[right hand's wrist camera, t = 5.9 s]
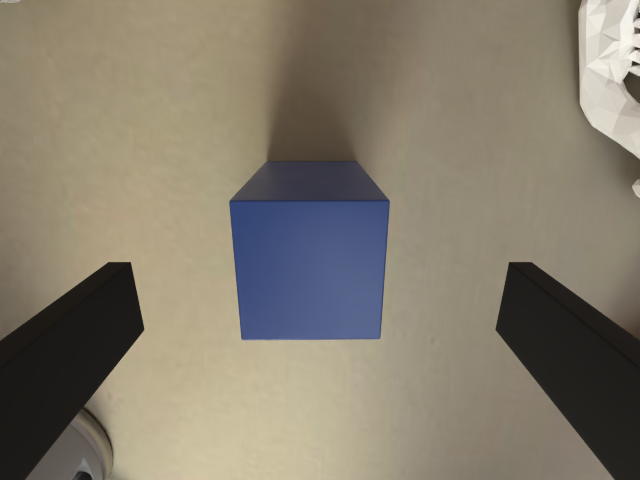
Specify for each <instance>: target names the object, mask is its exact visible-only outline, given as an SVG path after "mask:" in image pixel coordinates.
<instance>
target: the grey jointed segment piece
mask: <svg viewBox="0 0 640 480" xmlns="http://www.w3.org/2000/svg"><path fill="white" fill-rule="evenodd" d="M19 1H20V0H0V2H3V3H17V2H19Z"/></svg>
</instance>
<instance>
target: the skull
mask: <svg viewBox="0 0 640 480" xmlns="http://www.w3.org/2000/svg"><path fill="white" fill-rule="evenodd" d="M639 10H640V0H582V1H581V5H580V9H579V12H578V18H579V82H580V106H581V108H582V110H583V112H584V114H585V116H586V118H587V119H588V121H589V122H590V124H591V125H592V126H593V127H594V128H596V129H597V130H599V131H601V132H602V133H604V134H605V135H607V136H608V137H610V138H611V139H613V140H614V141H616V142H617V143H619V144H620V145H622V146H623V147H624V148H625V149H627V150H628V151H630V152H631V153H633V154H634V155H635V156H636V157H638V158H639V159H640V103H638V102H637V101H636V100H635V99H634V98H633V97H632V96H631V95H630V94H629V93H628V92H627V89H626V87H625V84H624V82H623V80H624V78H625V76H626V75H627V73H628V72H629V71H630V72H631V73H633V74H635V75H638V76H640V65H632V61H635V62H637V63H639V64H640V50H636V51H635V47H638V48H640V34H639V29H640V18H639V19H637V18H638V12H639V13H640V11H639ZM632 187H633V190H634V192H635V194H636V195H637V196H638V197H639V198H640V179H637V180H636V182H635V183H634V184H633V185H632Z"/></svg>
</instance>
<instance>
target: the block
mask: <svg viewBox="0 0 640 480" xmlns="http://www.w3.org/2000/svg"><path fill="white" fill-rule="evenodd" d="M229 204H230V215H231V226H232V238H233V249H234V260H235V271H236V282H237V293H238V304H239V315H240V327H241V338H242V340H330V339H380V335H381V320H382V306H383V291H384V277H385V263H386V248H387V234H388V219H389V205H390V201H389V199H388V198H387V197H386V196H385V195H384V193H383V192H382V191H381V190H380V189H379V187H378V186H377V185H376V184H375V183H374V181H373V180H372V179H371V178H370V177H369V175H368V174H367V173H366V172H365V171H364V169H363V168H362V167H361V166H360V165H359V164H358V162H357V161H267V162H266V163H265V164H264V165H263V166H262V167H261V168H260V169H259V170H258V171H257V172H256V173H255V174H254V176H253V177H252V178H251V179H250V180H249V181H248V182H247V183H246V184H245V185H244V186H243V187H242V188H241V189H240V190H239V191H238V192H237V194H236V195H235V196H234V197H233V198H232V199H231V200H230V202H229Z"/></svg>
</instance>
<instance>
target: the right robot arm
mask: <svg viewBox="0 0 640 480" xmlns="http://www.w3.org/2000/svg"><path fill="white" fill-rule="evenodd" d="M143 331H144V325H143V320H142V315H141V310H140V305H139V300H138V296H137V291H136V286H135V281H134V276H133V271H132V266H131V262H108V263H107V264H106V265H104V266H103V267H101V268H100V269H99V270H97V271H96V272H94V273H93V274H92V275H90V276H89V277H88V278H86V279H85V280H83V281H82V282H81V283H79V284H78V285H77V286H75V287H74V288H72V289H71V290H70V291H68V292H67V293H66V294H64V295H63V296H61V297H60V298H59V299H57V300H56V301H54V302H53V303H52V304H50V305H49V306H48V307H46V308H45V309H43V310H42V311H41V312H39V313H38V314H37V315H35V316H34V317H32V318H31V319H30V320H28V321H27V322H26V323H24V324H23V325H21V326H20V327H19V328H17V329H16V330H14V331H13V332H12V333H10V334H9V335H8V336H6V337H5V338H3V339H2V340H1V341H0V480H107V479H108V477H109V475H110V473H111V469H112V463H113V456H112V450H111V446H110V443H109V441H108V439H107V437H106V435H105V433H104V431H103V430H102V429H101V427H100V426H99V425H98V423H97V422H96V421H95V420H94V419H93V418H92V417H91V416H90V415H89V414H88V413H87V412H86V411H84V410H83V409H82V408H83V406H84V405H85V404H86V403H87V401H88V400H89V399H90V398H91V396H92V395H93V394H94V393H95V391H96V390H97V389H98V388H99V386H100V385H101V384H102V383H103V381H104V380H105V379H106V377H107V376H108V375H109V374H110V372H111V371H112V370H113V369H114V367H115V366H116V365H117V364H118V362H119V361H120V360H121V359H122V357H123V356H124V355H125V354H126V352H127V351H128V350H129V349H130V347H131V346H132V345H133V344H134V342H135V341H136V340H137V339H138V337H139V336H140V335H141V333H142V332H143ZM496 331H497V332H498V333H499V335H500V336H501V337H502V339H503V340H504V341H505V342H506V344H507V345H508V346H509V347H510V349H511V350H512V351H513V352H514V354H515V355H516V356H517V357H518V359H519V360H520V361H521V362H522V364H523V365H524V366H525V367H526V369H527V370H528V371H529V372H530V374H531V375H532V376H533V377H534V379H535V380H536V381H537V383H538V384H539V385H540V386H541V388H542V389H543V390H544V391H545V393H546V394H547V395H548V396H549V398H550V399H551V400H552V401H553V403H554V404H555V405H556V406H557V408H558V409H559V410H560V411H561V413H562V414H563V415H564V416H565V418H566V419H567V420H568V422H569V423H570V424H571V425H572V427H573V428H574V429H575V430H576V432H577V433H578V434H579V435H580V437H581V438H582V439H583V440H584V442H585V443H586V444H587V445H588V447H589V448H590V449H591V450H592V452H593V453H594V454H595V455H596V457H597V458H598V459H599V460H600V462H601V463H602V464H603V466H604V467H605V468H606V469H607V471H608V472H609V473H610V474H611V476H612V477H613V478H614V479H615V480H640V339H638V338H635V337H634V336H632V335H631V334H630V333H628V332H627V331H626V330H624V329H623V328H621V327H620V326H619V325H617V324H616V323H614V322H613V321H612V320H610V319H609V318H608V317H606V316H605V315H603V314H602V313H601V312H599V311H598V310H597V309H595V308H594V307H592V306H591V305H590V304H588V303H587V302H586V301H584V300H583V299H581V298H580V297H579V296H577V295H576V294H574V293H573V292H572V291H570V290H569V289H568V288H566V287H565V286H563V285H562V284H561V283H559V282H558V281H557V280H555V279H554V278H552V277H551V276H550V275H548V274H547V273H546V272H544V271H543V270H541V269H540V268H539V267H537V266H536V265H534V264H533V263H532V262H509V266H508V271H507V276H506V281H505V286H504V291H503V296H502V300H501V305H500V310H499V315H498V320H497V325H496Z"/></svg>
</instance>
